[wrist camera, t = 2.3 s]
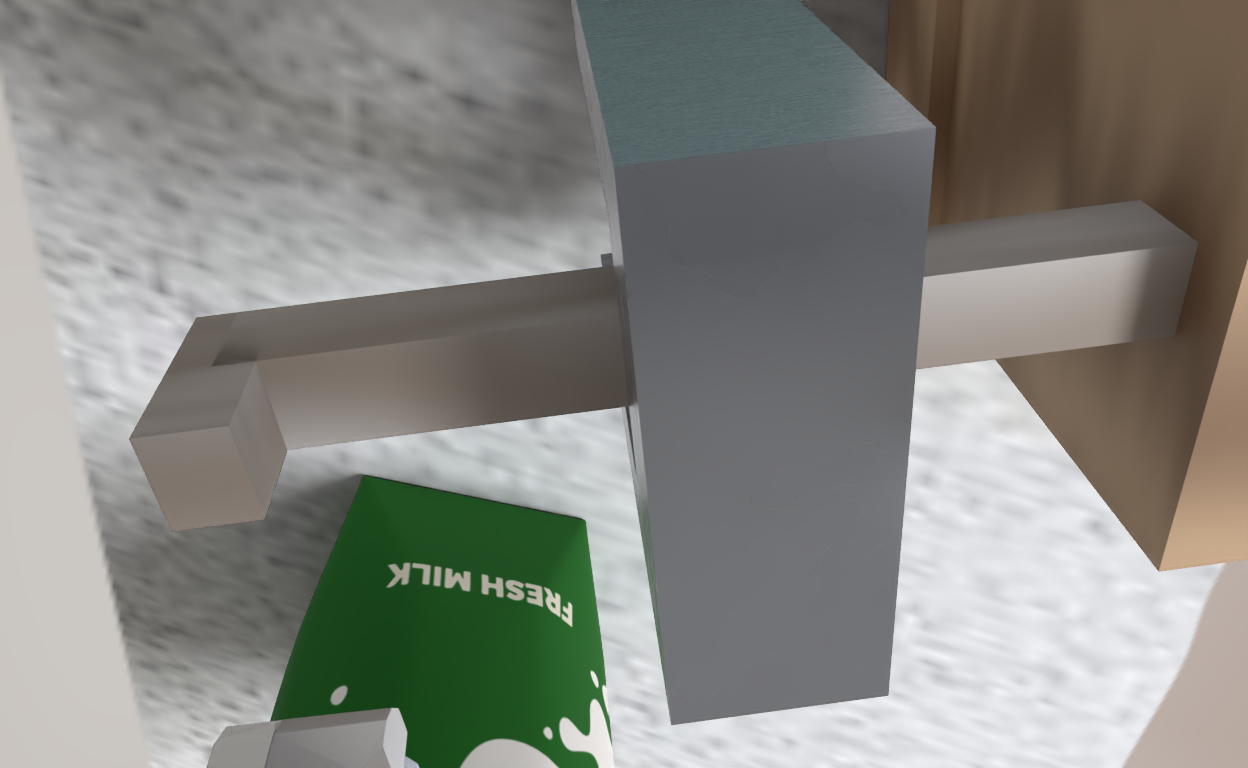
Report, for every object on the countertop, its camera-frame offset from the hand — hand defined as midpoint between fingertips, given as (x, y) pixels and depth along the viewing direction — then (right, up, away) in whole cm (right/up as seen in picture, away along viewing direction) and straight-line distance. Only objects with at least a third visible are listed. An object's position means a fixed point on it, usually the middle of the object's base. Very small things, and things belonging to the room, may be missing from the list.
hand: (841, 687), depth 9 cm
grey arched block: (-1, +8, +11) cm, 14 cm away
